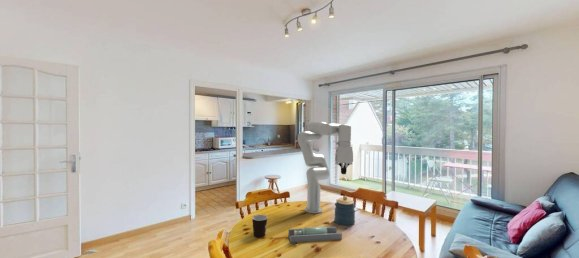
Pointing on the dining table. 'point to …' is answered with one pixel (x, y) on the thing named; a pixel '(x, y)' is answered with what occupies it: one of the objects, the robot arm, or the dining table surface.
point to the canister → (344, 211)
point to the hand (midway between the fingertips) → (343, 173)
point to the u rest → (314, 236)
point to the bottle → (311, 231)
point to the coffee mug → (259, 225)
